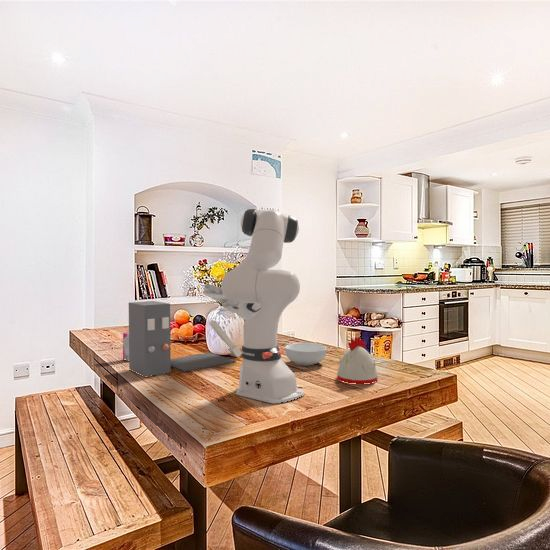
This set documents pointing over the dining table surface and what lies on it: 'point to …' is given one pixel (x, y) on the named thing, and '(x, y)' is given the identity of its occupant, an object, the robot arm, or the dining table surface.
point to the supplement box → (126, 346)
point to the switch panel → (149, 337)
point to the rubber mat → (199, 361)
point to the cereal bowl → (306, 353)
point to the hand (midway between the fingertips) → (207, 285)
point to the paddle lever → (225, 339)
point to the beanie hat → (357, 364)
